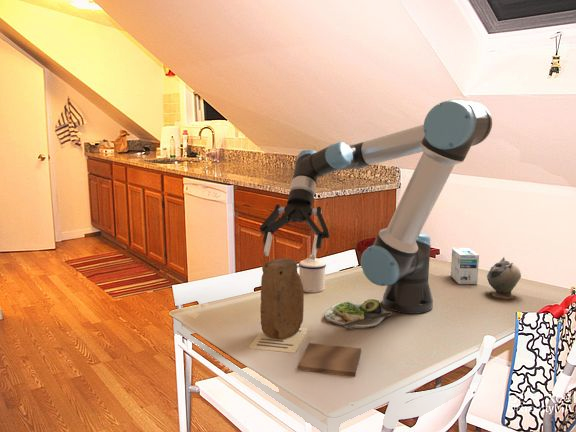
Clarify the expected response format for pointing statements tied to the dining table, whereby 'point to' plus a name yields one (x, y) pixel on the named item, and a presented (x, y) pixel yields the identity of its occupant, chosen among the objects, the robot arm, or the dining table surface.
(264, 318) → the brown tall rough part
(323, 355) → the plate
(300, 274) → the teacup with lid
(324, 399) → the dining table surface
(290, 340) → the letter
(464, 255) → the light bulb box
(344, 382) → the dining table surface
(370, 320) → the salad plate
